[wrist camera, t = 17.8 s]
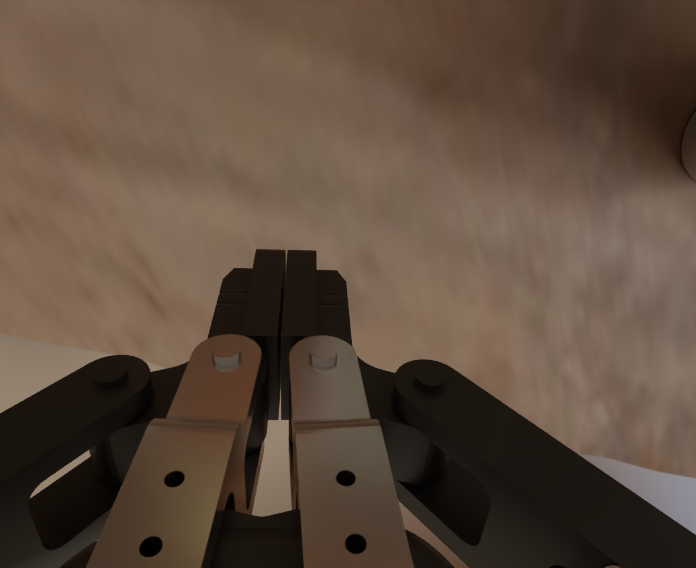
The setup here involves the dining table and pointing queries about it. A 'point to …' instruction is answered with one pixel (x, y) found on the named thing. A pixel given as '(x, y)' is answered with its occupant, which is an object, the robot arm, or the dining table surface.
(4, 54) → the dining table surface
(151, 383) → the robot arm
